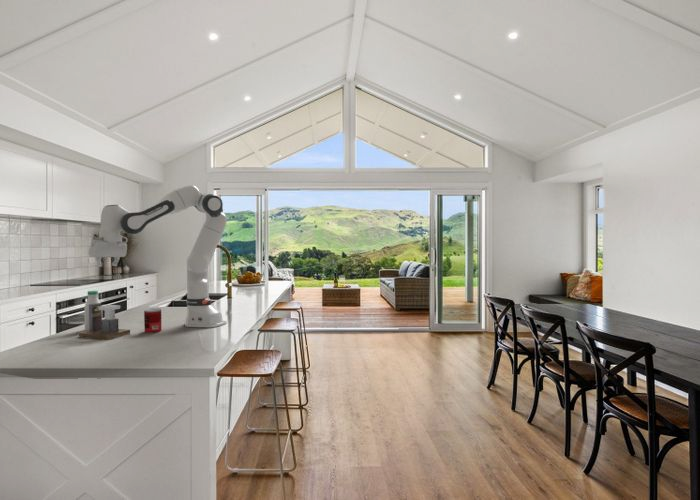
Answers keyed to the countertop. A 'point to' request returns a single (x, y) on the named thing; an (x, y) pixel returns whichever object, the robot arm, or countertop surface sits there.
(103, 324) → the stand
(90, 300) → the milk bottle
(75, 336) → the countertop surface
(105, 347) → the countertop surface
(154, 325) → the canned food
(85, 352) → the countertop surface
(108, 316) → the plunger
